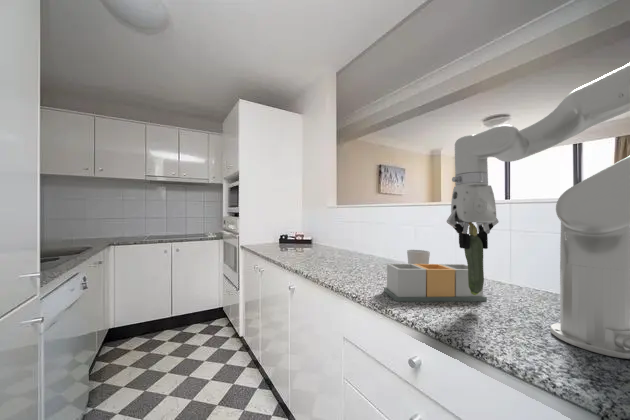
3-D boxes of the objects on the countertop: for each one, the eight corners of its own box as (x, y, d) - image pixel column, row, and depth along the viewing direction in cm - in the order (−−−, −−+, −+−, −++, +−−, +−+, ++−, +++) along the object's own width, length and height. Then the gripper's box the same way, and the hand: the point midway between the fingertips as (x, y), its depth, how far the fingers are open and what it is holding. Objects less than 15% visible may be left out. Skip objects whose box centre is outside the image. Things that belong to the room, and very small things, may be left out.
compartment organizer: (486, 301, 73) (486, 270, 73) (396, 301, 71) (396, 269, 71) (463, 290, 83) (463, 263, 83) (383, 291, 81) (384, 263, 81)
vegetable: (488, 298, 63) (486, 221, 64) (471, 298, 63) (469, 221, 64) (477, 293, 68) (475, 221, 69) (461, 293, 68) (459, 221, 69)
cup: (425, 280, 96) (425, 250, 96) (432, 286, 88) (433, 253, 88) (404, 279, 97) (404, 249, 97) (410, 285, 89) (410, 252, 89)
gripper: (450, 178, 63) (452, 250, 62) (511, 179, 64) (514, 249, 63) (434, 183, 70) (435, 247, 69) (489, 184, 72) (491, 246, 71)
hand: (473, 247), depth 66 cm, fingers closed on vegetable, 4 cm apart
